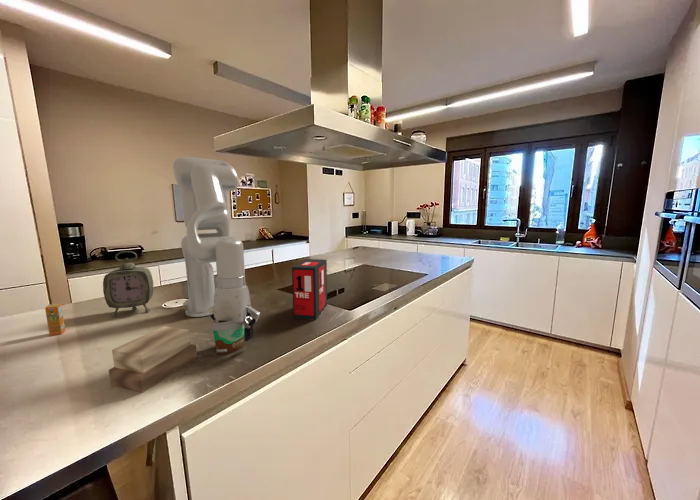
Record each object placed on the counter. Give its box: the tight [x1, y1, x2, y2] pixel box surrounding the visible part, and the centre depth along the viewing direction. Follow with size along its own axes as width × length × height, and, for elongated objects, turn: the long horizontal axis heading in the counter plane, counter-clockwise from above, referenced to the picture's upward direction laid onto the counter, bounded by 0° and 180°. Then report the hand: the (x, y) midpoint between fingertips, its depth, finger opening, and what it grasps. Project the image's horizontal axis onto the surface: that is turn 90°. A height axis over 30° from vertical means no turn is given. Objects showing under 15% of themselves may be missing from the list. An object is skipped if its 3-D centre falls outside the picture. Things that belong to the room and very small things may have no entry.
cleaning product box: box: [291, 258, 328, 321], centre depth 116 cm, size 16×9×20 cm, turn 170°
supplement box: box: [44, 302, 66, 337], centre depth 96 cm, size 3×3×10 cm
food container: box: [210, 319, 248, 356], centre depth 87 cm, size 12×6×10 cm, turn 168°
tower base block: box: [108, 343, 198, 394], centre depth 75 cm, size 10×16×4 cm, turn 164°
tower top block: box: [111, 325, 192, 373], centre depth 75 cm, size 9×14×4 cm, turn 165°
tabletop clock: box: [102, 250, 154, 317], centre depth 115 cm, size 14×9×25 cm, turn 114°
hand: (235, 337), depth 87 cm, fingers open, 9 cm apart
